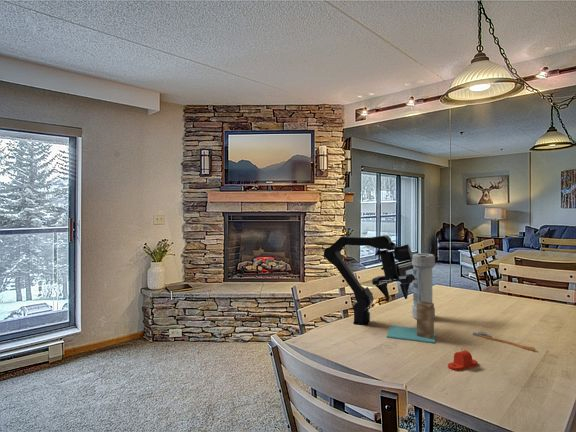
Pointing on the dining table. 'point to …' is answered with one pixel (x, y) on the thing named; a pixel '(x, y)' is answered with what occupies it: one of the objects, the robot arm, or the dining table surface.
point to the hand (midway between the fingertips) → (397, 299)
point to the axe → (487, 336)
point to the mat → (407, 334)
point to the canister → (422, 279)
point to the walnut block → (425, 319)
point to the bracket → (462, 361)
